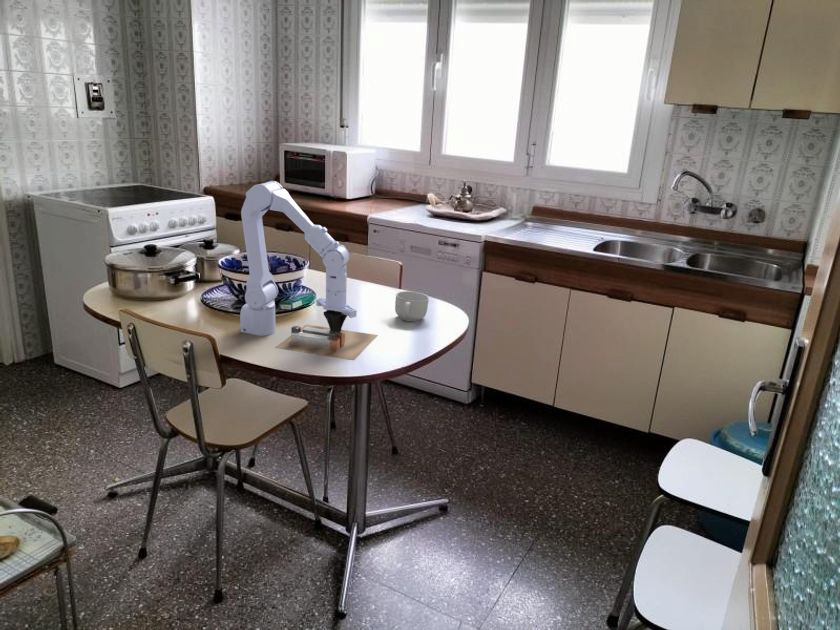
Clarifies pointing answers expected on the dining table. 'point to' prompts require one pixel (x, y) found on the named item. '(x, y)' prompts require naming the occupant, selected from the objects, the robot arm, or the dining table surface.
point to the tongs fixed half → (314, 340)
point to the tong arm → (325, 333)
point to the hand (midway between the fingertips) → (335, 335)
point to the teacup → (411, 305)
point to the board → (348, 350)
